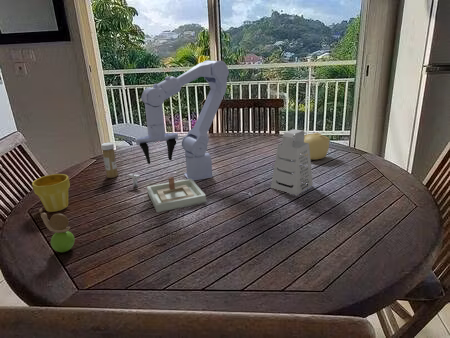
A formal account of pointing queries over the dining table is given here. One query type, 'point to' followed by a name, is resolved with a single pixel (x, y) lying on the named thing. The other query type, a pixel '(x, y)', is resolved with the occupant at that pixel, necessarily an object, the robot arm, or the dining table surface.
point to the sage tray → (159, 206)
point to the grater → (292, 163)
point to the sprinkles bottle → (109, 159)
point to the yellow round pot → (317, 145)
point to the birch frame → (173, 189)
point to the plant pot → (52, 191)
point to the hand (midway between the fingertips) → (159, 161)
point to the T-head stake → (134, 179)
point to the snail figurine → (59, 232)
